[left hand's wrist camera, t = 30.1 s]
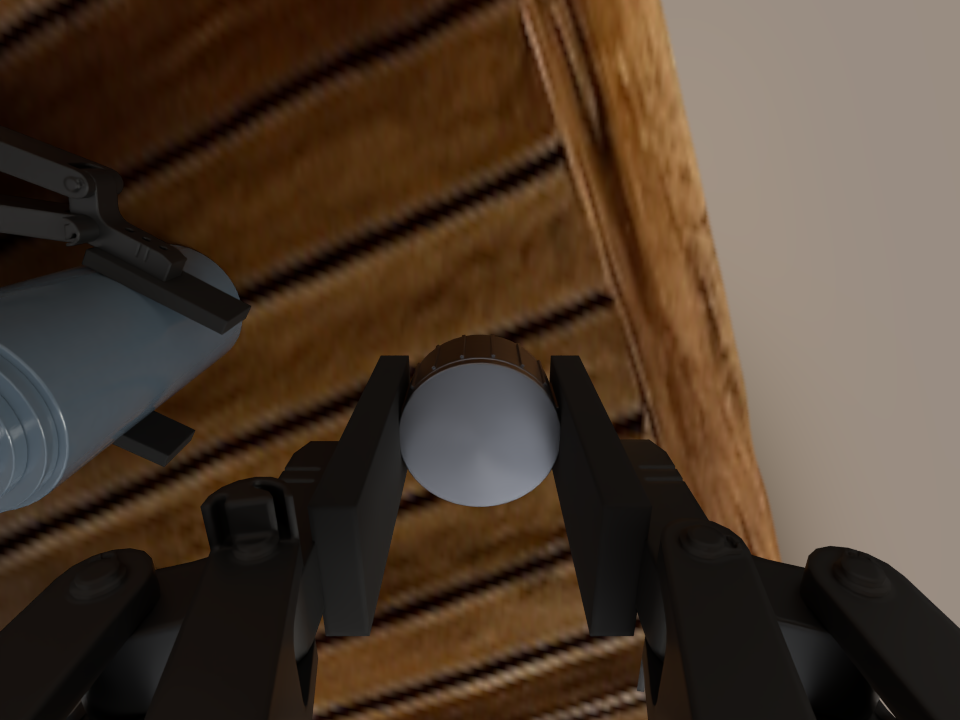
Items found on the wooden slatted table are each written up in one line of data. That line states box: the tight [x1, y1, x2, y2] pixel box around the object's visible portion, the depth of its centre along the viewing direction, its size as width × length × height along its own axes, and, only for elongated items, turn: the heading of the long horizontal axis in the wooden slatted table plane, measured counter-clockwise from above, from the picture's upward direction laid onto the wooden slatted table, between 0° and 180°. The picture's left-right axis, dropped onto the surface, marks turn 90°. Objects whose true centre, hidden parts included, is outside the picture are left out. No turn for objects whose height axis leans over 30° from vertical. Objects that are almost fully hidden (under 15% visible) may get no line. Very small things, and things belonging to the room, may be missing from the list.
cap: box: [399, 334, 561, 507], centre depth 14 cm, size 4×4×2 cm
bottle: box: [0, 244, 242, 513], centre depth 23 cm, size 8×8×20 cm
